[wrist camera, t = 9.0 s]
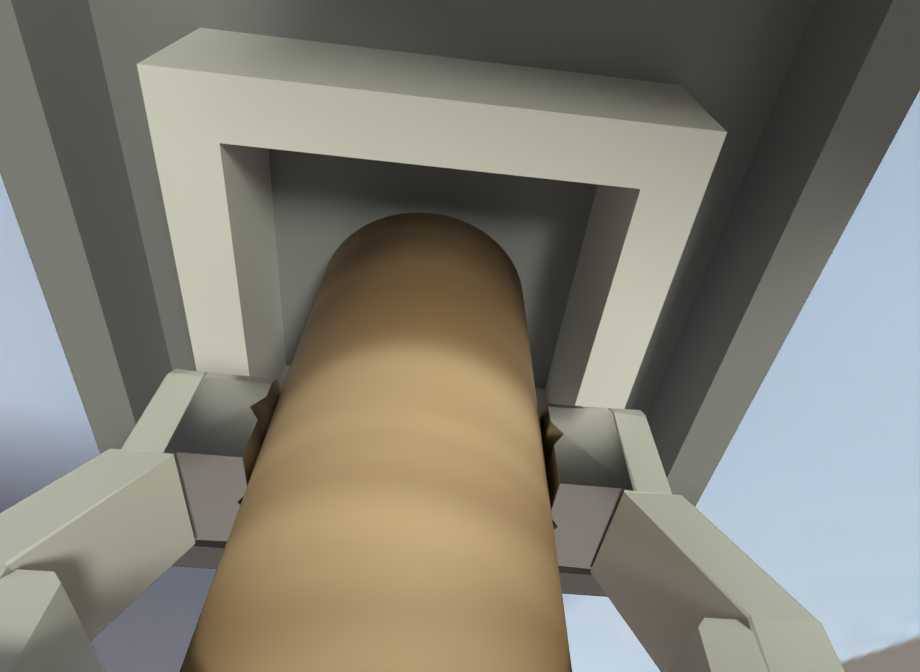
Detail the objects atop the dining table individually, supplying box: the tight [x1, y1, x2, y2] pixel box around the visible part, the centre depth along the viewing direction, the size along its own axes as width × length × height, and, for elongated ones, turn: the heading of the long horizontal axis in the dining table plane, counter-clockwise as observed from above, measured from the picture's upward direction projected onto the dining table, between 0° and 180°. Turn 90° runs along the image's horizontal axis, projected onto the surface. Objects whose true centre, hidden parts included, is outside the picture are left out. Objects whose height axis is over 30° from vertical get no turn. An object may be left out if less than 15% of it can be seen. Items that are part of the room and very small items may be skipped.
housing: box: [0, 0, 920, 597], centre depth 13 cm, size 18×14×4 cm
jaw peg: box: [180, 212, 572, 672], centre depth 9 cm, size 4×4×8 cm
